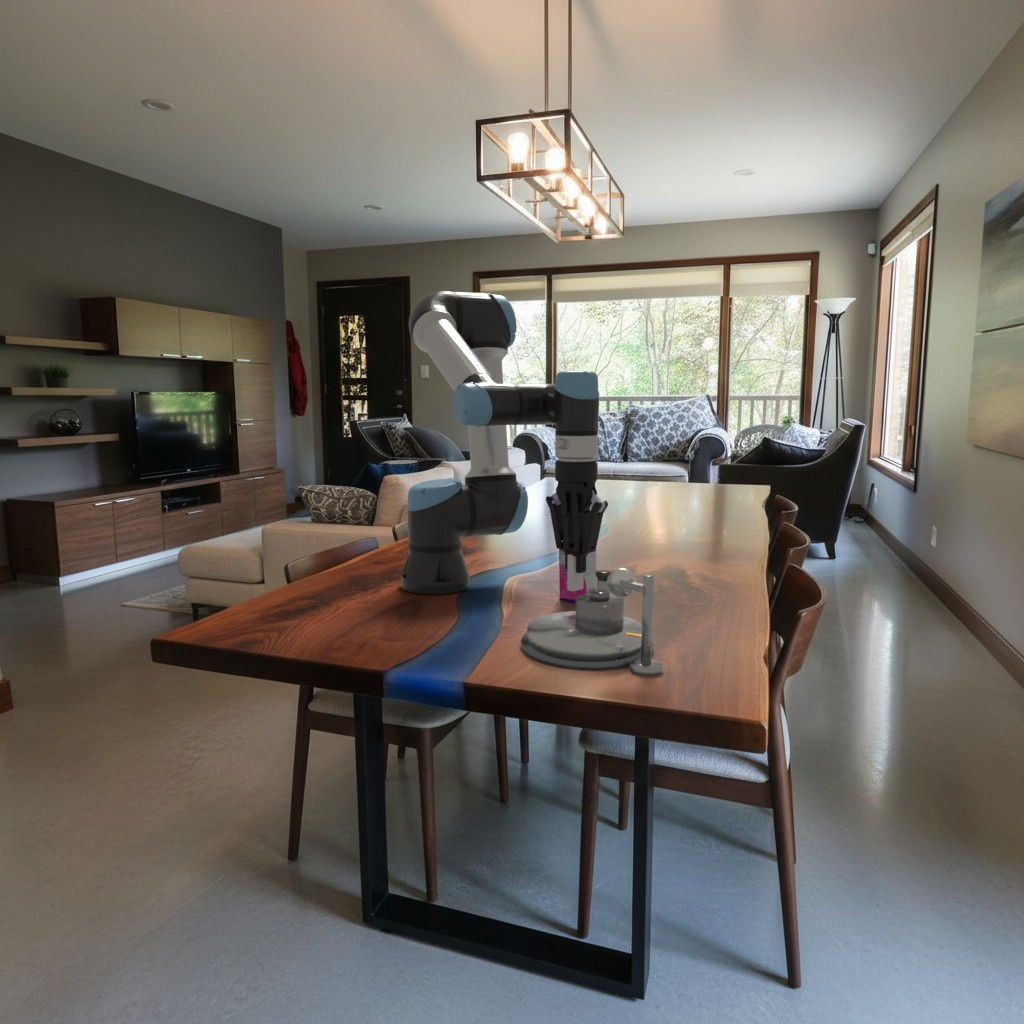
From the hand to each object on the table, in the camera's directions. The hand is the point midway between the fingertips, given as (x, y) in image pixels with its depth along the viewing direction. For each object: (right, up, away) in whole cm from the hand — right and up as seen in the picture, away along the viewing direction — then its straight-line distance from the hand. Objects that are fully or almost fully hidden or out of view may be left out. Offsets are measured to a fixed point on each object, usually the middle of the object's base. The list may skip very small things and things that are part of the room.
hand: (575, 589), depth 137 cm
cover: (+3, -5, -10) cm, 12 cm away
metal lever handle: (+7, -10, -19) cm, 23 cm away
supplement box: (+2, -4, +20) cm, 20 cm away
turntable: (+1, -7, -10) cm, 12 cm away
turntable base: (+1, -9, -10) cm, 13 cm away
